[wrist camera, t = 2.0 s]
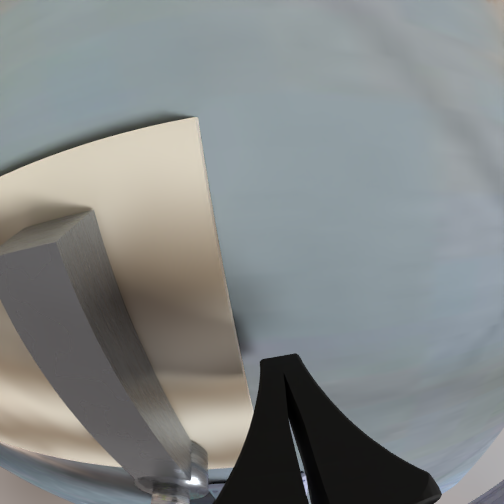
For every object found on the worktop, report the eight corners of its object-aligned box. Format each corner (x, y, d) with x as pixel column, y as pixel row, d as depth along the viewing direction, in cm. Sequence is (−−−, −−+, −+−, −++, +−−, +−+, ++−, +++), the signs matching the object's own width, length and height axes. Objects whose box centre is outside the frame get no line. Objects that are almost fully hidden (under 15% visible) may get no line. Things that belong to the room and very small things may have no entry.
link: (214, 465, 15) (216, 520, 11) (153, 466, 15) (149, 518, 11) (108, 206, 8) (41, 269, 5) (15, 230, 8) (-55, 287, 5)
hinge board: (262, 451, 17) (264, 463, 16) (-1, 433, 16) (-4, 440, 15) (198, 117, 9) (195, 117, 8) (-114, 244, 8) (-121, 250, 7)
